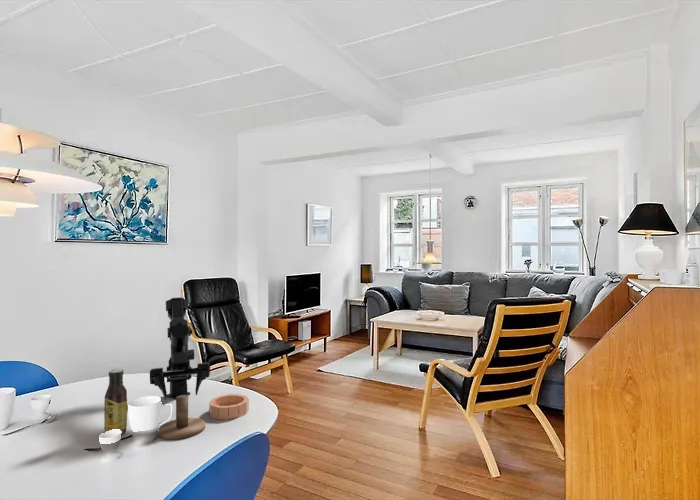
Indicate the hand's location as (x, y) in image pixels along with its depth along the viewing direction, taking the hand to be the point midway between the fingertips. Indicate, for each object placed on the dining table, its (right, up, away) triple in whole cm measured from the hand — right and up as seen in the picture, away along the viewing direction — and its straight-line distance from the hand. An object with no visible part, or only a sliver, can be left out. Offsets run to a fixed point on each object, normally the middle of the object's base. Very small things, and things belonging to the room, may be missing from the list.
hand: (181, 396), depth 138 cm
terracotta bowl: (+12, -9, +12) cm, 20 cm away
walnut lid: (+1, -10, -2) cm, 10 cm away
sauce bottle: (-19, -10, -5) cm, 22 cm away
